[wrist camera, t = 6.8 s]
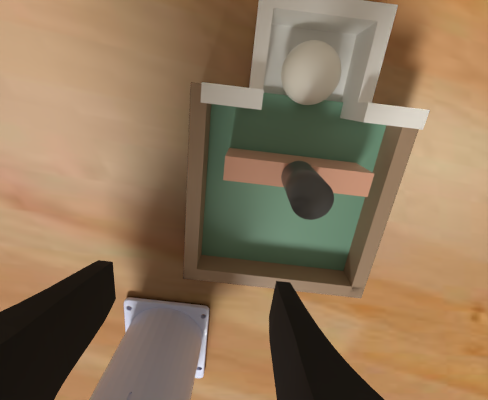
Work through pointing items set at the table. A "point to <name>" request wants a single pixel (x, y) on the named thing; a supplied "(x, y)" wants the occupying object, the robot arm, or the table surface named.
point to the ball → (311, 72)
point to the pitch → (299, 144)
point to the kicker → (299, 178)
